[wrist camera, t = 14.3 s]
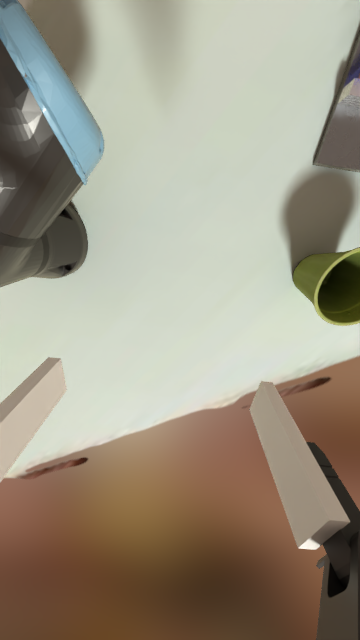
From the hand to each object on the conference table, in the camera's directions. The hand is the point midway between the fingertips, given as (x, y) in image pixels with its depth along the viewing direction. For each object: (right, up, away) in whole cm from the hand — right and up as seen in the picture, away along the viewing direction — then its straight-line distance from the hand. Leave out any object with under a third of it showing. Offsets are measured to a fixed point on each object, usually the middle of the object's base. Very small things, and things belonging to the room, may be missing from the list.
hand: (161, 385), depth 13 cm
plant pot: (+27, +14, +25) cm, 39 cm away
